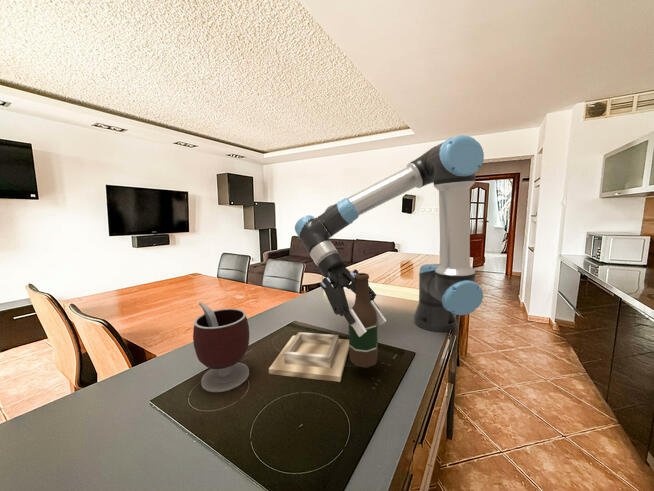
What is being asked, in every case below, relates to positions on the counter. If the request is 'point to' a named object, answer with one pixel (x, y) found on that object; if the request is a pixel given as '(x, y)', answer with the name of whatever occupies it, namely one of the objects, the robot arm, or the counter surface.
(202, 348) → the mate gourd
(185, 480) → the counter surface
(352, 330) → the beer bottle
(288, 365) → the bottle holder
